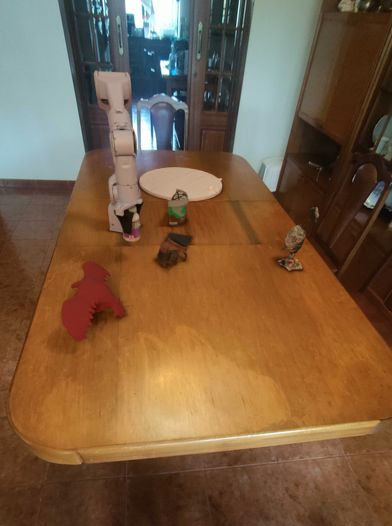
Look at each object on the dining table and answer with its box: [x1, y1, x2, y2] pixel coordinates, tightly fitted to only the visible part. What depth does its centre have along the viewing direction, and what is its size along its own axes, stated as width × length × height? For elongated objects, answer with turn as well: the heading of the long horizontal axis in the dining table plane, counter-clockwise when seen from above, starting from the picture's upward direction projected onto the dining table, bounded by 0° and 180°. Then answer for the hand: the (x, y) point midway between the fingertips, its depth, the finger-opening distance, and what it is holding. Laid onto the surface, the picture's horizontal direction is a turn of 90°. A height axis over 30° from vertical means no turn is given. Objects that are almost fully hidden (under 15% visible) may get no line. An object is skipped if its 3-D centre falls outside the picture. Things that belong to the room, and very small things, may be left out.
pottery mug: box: [156, 237, 188, 268], centre depth 102 cm, size 12×10×8 cm
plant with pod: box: [276, 206, 320, 272], centre depth 101 cm, size 8×11×20 cm
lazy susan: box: [138, 166, 223, 202], centre depth 150 cm, size 40×39×3 cm
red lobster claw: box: [60, 260, 126, 343], centre depth 81 cm, size 28×9×15 cm
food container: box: [167, 189, 190, 227], centre depth 121 cm, size 12×6×10 cm, turn 168°
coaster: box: [164, 232, 192, 247], centre depth 114 cm, size 8×8×1 cm
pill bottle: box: [122, 206, 141, 243], centre depth 96 cm, size 5×5×10 cm
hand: (131, 229), depth 97 cm, fingers closed on pill bottle, 5 cm apart
